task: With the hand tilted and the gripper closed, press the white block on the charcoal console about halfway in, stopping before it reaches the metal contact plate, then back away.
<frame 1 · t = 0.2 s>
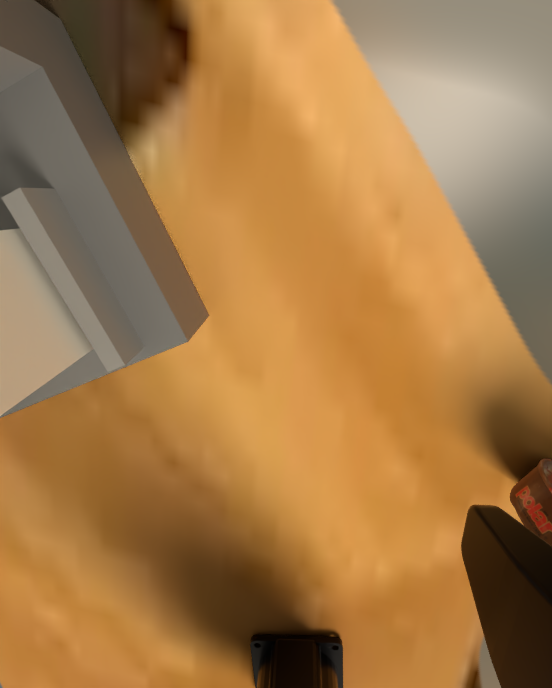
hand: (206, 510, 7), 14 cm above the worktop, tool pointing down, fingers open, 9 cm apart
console: (40, 234, 20), on the worktop
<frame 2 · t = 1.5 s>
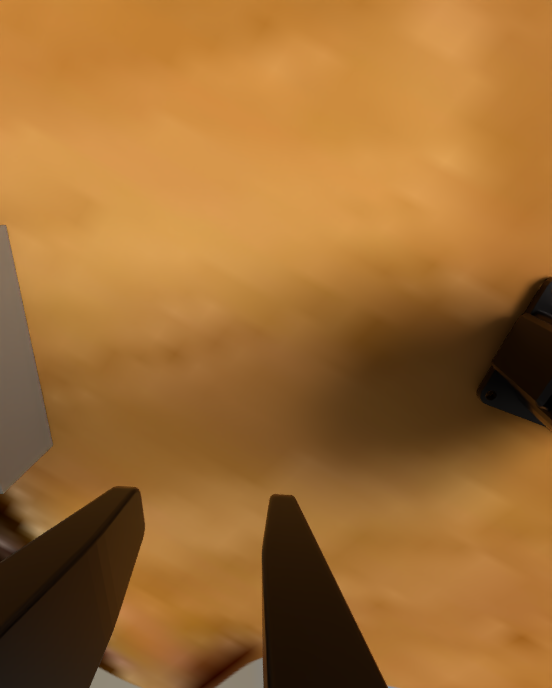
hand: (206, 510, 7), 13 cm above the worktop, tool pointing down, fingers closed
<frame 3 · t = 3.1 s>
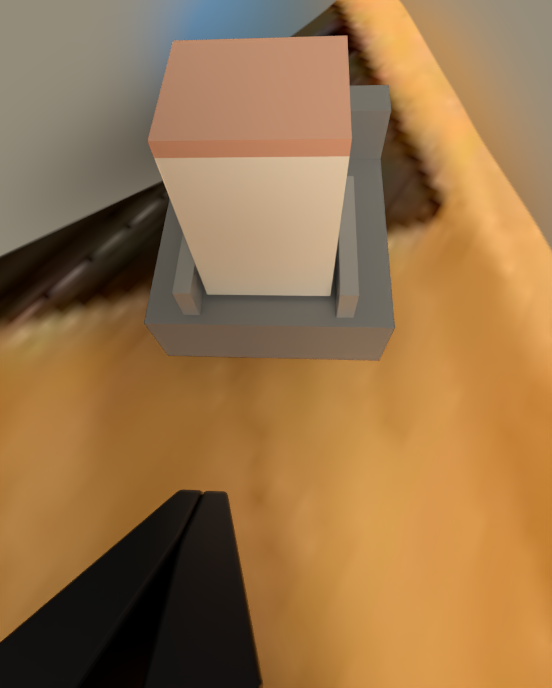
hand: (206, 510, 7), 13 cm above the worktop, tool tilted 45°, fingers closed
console: (277, 256, 26), on the worktop
white block: (264, 188, 17), point 9 cm above the worktop, slide at 0.0 cm
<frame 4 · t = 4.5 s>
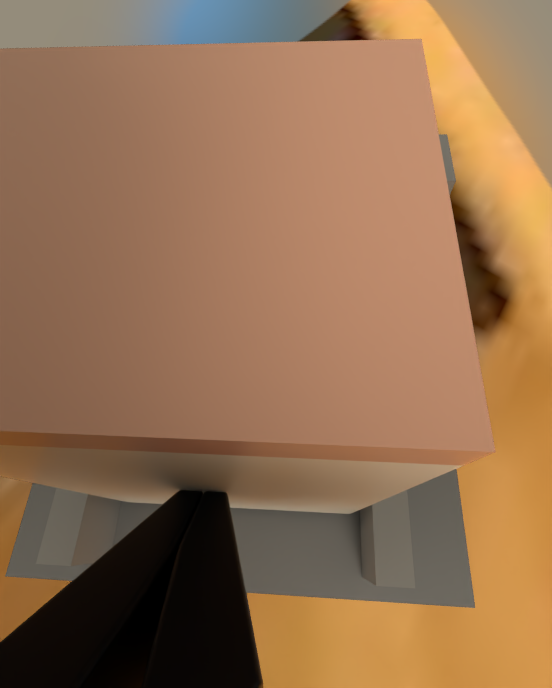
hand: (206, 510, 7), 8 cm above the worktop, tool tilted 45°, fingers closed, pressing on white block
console: (262, 384, 17), on the worktop
white block: (219, 357, 8), point 9 cm above the worktop, slide at 0.5 cm, touching gripper
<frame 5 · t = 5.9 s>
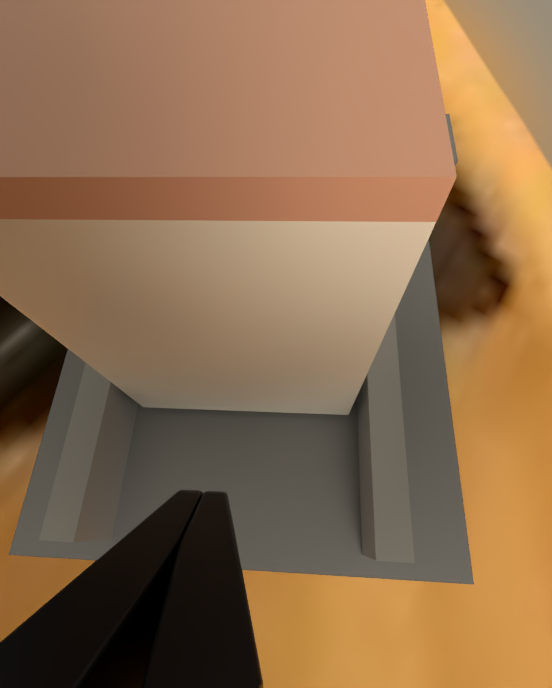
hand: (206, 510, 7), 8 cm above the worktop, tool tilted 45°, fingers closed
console: (262, 368, 17), on the worktop
white block: (230, 247, 9), point 9 cm above the worktop, slide at 2.5 cm
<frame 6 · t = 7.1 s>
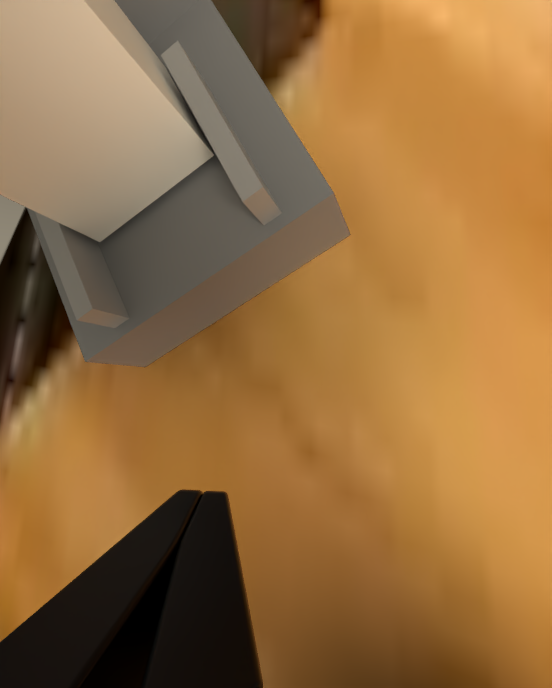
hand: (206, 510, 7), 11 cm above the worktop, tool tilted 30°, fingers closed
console: (183, 193, 21), on the worktop
white block: (43, 80, 13), point 9 cm above the worktop, slide at 2.5 cm
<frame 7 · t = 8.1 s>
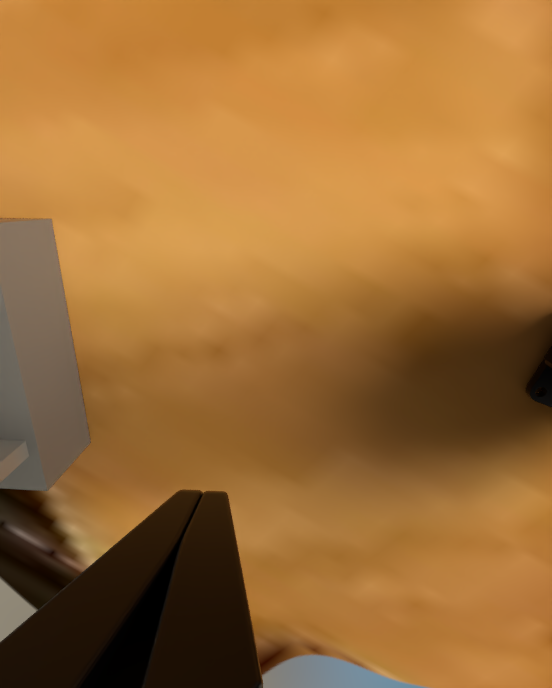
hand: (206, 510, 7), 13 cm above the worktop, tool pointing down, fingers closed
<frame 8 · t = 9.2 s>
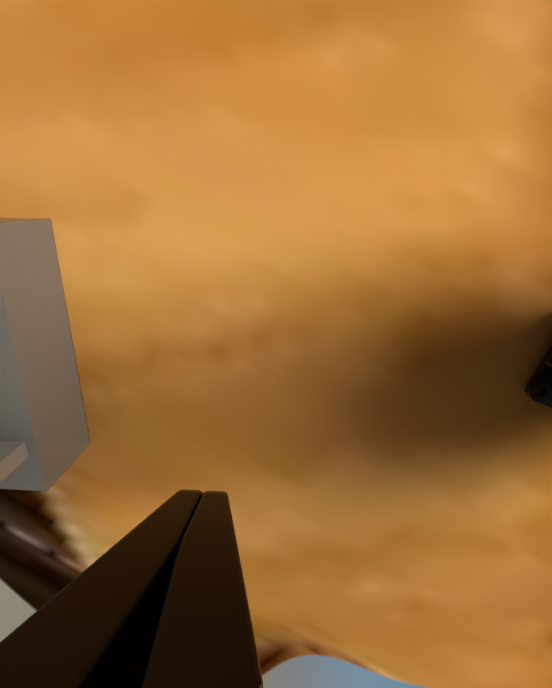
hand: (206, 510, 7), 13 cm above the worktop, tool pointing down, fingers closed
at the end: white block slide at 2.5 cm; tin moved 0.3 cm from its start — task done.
